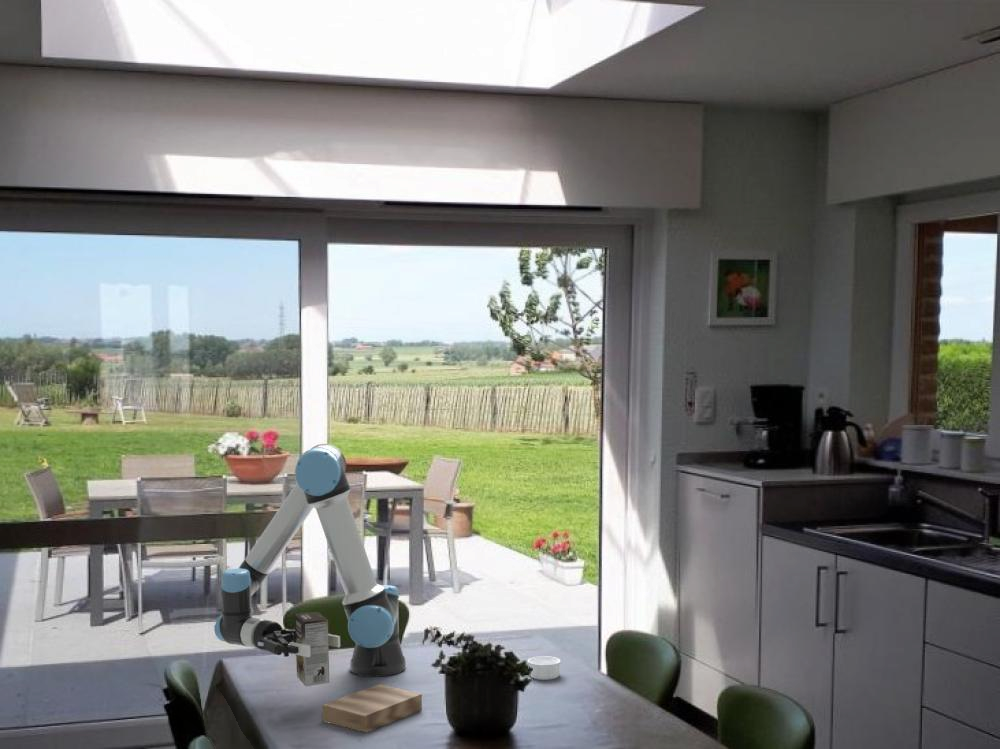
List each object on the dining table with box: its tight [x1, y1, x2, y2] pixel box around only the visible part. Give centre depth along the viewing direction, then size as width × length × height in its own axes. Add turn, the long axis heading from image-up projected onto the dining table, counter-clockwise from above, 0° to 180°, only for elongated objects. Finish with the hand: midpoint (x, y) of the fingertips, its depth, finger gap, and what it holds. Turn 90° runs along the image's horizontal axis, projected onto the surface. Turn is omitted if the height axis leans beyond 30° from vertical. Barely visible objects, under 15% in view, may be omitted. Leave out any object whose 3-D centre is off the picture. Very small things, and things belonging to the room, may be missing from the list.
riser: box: [321, 683, 423, 733], centre depth 289 cm, size 20×14×4 cm
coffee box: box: [294, 611, 330, 687], centre depth 297 cm, size 9×6×16 cm
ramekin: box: [527, 655, 562, 681], centre depth 320 cm, size 9×9×4 cm
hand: (324, 646), depth 295 cm, fingers closed on coffee box, 9 cm apart
